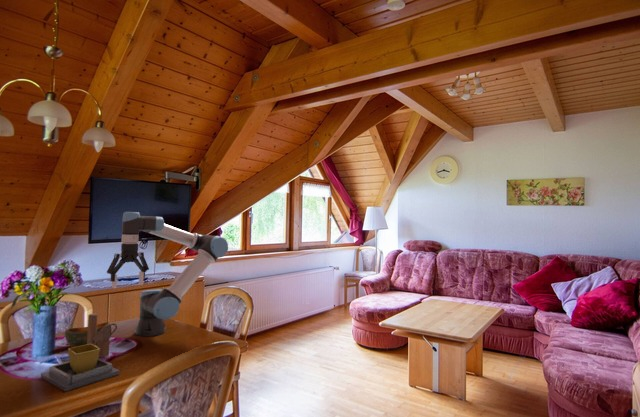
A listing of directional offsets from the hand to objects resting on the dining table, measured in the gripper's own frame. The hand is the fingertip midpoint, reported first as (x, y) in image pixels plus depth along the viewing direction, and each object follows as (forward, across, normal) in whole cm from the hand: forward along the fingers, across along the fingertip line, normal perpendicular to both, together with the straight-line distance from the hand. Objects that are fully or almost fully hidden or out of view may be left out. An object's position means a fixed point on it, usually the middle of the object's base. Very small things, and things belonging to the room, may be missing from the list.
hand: (127, 286), depth 191 cm
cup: (+29, -10, +13) cm, 33 cm away
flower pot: (+27, -29, -21) cm, 45 cm away
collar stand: (+29, -30, -21) cm, 47 cm away
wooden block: (+29, -15, -3) cm, 33 cm away
